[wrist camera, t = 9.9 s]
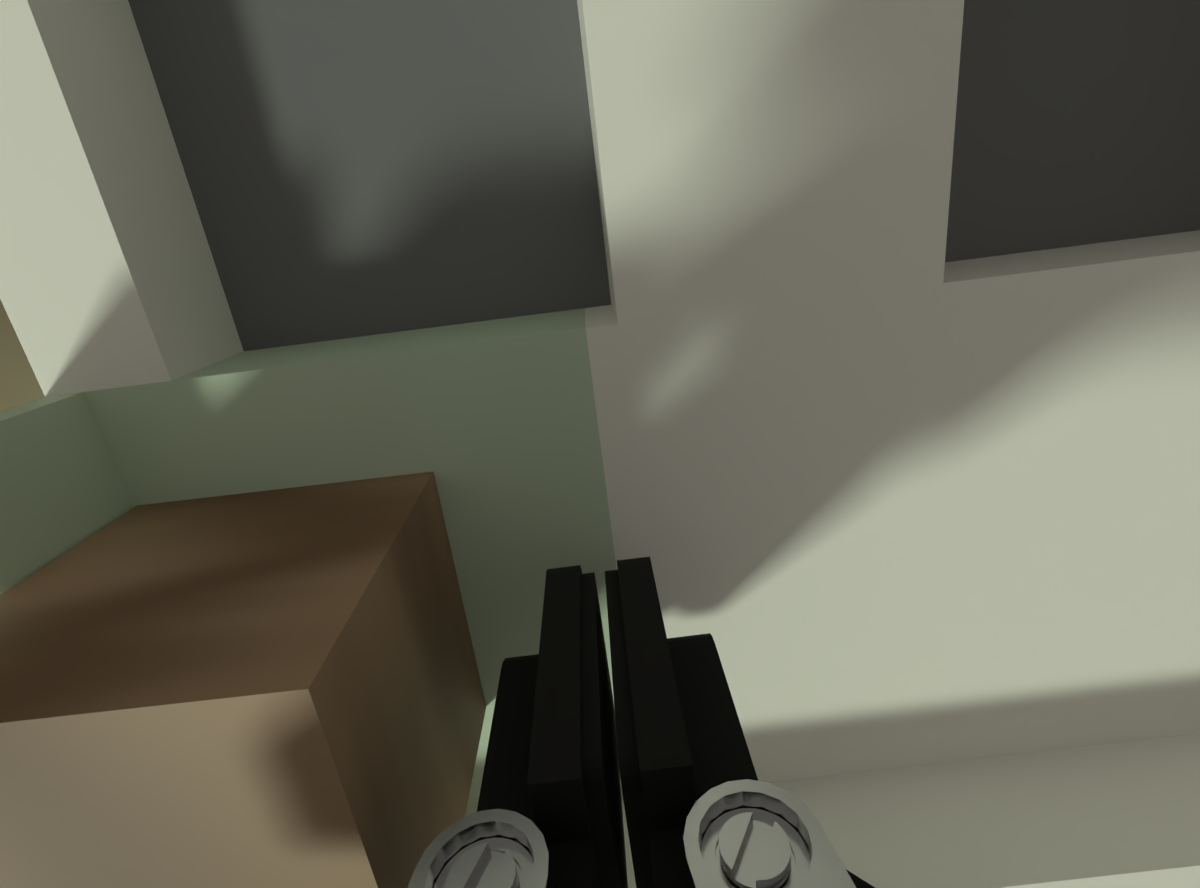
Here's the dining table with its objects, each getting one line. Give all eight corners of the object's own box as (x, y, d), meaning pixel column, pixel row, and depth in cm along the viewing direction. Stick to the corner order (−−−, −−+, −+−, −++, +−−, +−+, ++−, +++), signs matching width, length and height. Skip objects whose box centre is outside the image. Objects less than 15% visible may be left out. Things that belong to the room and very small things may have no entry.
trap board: (1534, -438, 9) (2676, -1218, 4) (1218, 658, 15) (1500, 855, 11) (-70, -208, 9) (-783, -673, 4) (306, 764, 16) (187, 1000, 11)
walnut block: (433, 471, 10) (308, 689, 6) (485, 705, 12) (425, 1022, 7) (137, 505, 10) (-237, 748, 6) (233, 734, 12) (11, 1064, 7)
